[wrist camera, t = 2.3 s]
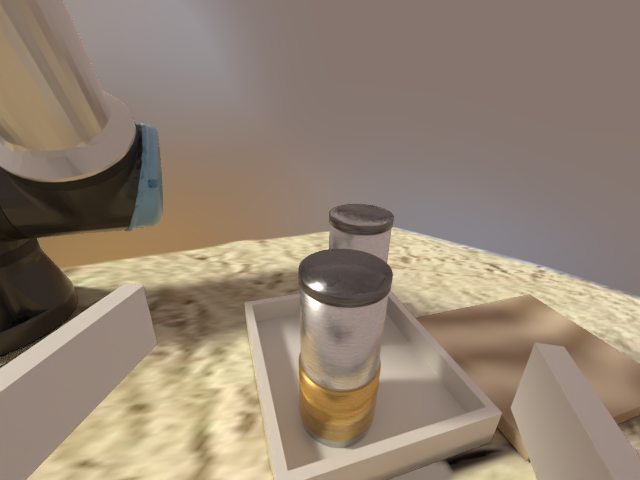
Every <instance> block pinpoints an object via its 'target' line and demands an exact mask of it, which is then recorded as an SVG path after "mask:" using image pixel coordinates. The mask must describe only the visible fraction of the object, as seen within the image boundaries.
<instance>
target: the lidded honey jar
mask: <svg viewBox="0 0 640 480" xmlns="http://www.w3.org/2000/svg"><path fill="white" fill-rule="evenodd" d="M392 276H393V274H392V270H391V268H390V266H389V265H388V264H387V263H386V262H385V261H383V260H382V259H380V258H379V257H377V256H375V255H372V254H370V253H367V252H363V251H359V250H353V249H329V250H323V251H319V252H316V253H313V254H311V255H309V256H308V257H306V258H305V259H304V260H303V261H302V262H301V263H300V265H299V285H300V347H301V352H300V355H299V411H300V415H301V420H302V423H303V426H304V428H305V430H306V432H307V433H308V434H309V435H310V436H311V437H312V438H313V439H314V440H315V441H317V442H318V443H320V444H322V445H324V446H327V447H331V448H346V447H350V446H352V445H355V444H357V443H358V442H360V441H361V440H362V439H363V438H364V437H365V436H366V435H367V433H368V431H369V429H370V426H371V424H372V422H373V419H374V414H375V407H376V399H377V392H378V385H379V377H380V370H381V361H380V355H381V347H382V340H383V332H384V325H385V317H386V310H387V302H388V295H389V292H390V290H391V284H392Z"/></svg>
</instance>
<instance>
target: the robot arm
mask: <svg viewBox="0 0 640 480" xmlns="http://www.w3.org/2000/svg"><path fill="white" fill-rule="evenodd" d="M162 216H163V187H162V172H161V158H160V147H159V139H158V132H157V130H156V128H155V127H153V126H152V125H146V124H144V123H138V124H137V125H136V124H135V121H134V118H133V116H132V114H131V112H130V111H129V109H128V108H127V107H126V106H125V105H124V104H123V103H122V102H121V101H120V100H118V99H117V98H116V97H114V96H113V95H111V94H109V93H107V92H104V91H103V89H102V87H101V85H100V83H99V80H98V78H97V76H96V73H95V71H94V69H93V67H92V64H91V62H90V60H89V58H88V55H87V53H86V51H85V48H84V46H83V44H82V41H81V39H80V37H79V35H78V32H77V30H76V28H75V25H74V23H73V21H72V19H71V16H70V14H69V12H68V9H67V7H66V5H65V2H64V1H63V0H0V355H3V354H6V353H8V352H11V351H13V350H16V349H18V348H20V347H23V346H25V345H27V344H29V343H31V342H33V341H35V340H37V339H38V338H40V337H42V336H44V335H45V334H47V333H49V332H50V331H52V330H53V329H54V328H56V327H57V326H59V325H60V324H61V323H62V322H63V321H65V320H66V319H67V318H68V317H69V316H70V314H71V313H72V312H73V311H74V309H75V307H76V305H77V301H78V299H77V295H76V292H75V289H74V287H73V284H72V282H71V281H70V279H69V278H68V277H67V276H66V275H65V274H64V273H63V272H62V271H61V270H60V269H59V268H58V267H57V265H56V264H55V263H54V262H53V261H52V260H51V259H50V258H49V257H48V256H47V255H46V254H45V253H44V252H43V251H42V249H41V248H40V246H39V243H38V241H37V238H41V237H51V236H63V235H74V234H85V233H96V232H107V231H122V230H125V231H131V230H133V229H137V228H144V227H150V226H154V225H156V224H158V223H159V222H160V220H161V219H162ZM156 345H157V340H156V336H155V332H154V328H153V323H152V319H151V315H150V311H149V307H148V303H147V299H146V295H145V291H144V286H143V285H136V284H129V283H125V284H123V285H122V286H120V287H119V288H117V289H116V290H114V291H113V292H111V293H110V294H109V295H107V296H106V297H104V298H103V299H101V300H100V301H98V302H97V303H95V304H94V305H92V306H91V307H89V308H88V309H87V310H85V311H84V312H82V313H81V314H79V315H78V316H76V317H75V318H73V319H72V320H70V321H69V322H68V323H66V324H65V325H63V326H62V327H60V328H59V329H57V330H56V331H54V332H53V333H51V334H50V335H49V336H47V337H46V338H44V339H43V340H41V341H40V342H38V343H37V344H35V345H34V346H32V347H31V348H30V349H28V350H27V351H25V352H24V353H22V354H21V355H19V356H18V357H16V358H15V359H13V360H11V361H9V362H7V363H5V364H3V365H1V366H0V480H26V479H27V478H28V477H29V476H30V475H31V474H32V473H33V472H34V471H35V470H36V469H37V468H38V467H39V466H40V465H41V464H42V463H43V462H44V461H45V460H46V459H47V457H48V456H49V455H50V454H51V453H52V452H53V451H54V450H55V449H56V448H57V447H58V446H59V445H60V444H61V443H62V442H63V441H64V440H65V439H66V438H67V437H68V436H69V435H70V434H71V433H72V432H73V431H74V430H75V429H76V428H77V426H78V425H79V424H80V423H81V422H82V421H83V420H84V419H85V418H86V417H87V416H88V415H89V414H90V413H91V412H92V411H93V410H94V409H95V408H96V407H97V406H98V405H99V404H100V403H101V402H102V401H103V400H104V399H105V398H106V397H107V396H108V394H109V393H110V392H111V391H112V390H113V389H114V388H115V387H116V386H117V385H118V384H119V383H120V382H121V381H122V380H123V379H124V378H125V377H126V376H127V375H128V374H129V373H130V372H131V371H132V370H133V369H134V368H135V367H136V366H137V365H138V363H139V362H140V361H141V360H142V359H143V358H144V357H145V356H146V355H147V354H148V353H149V352H150V351H151V350H152V349H153V348H154V347H155V346H156ZM511 411H512V413H513V416H514V419H515V421H516V424H517V427H518V429H519V432H520V435H521V437H522V440H523V443H524V445H525V448H526V451H527V453H528V456H529V459H530V462H531V464H532V467H533V470H534V472H535V475H536V478H537V480H640V457H639V456H638V454H637V453H636V451H635V450H634V448H633V447H632V445H631V444H630V442H629V441H628V440H627V438H626V437H625V435H624V434H623V432H622V431H621V429H620V428H619V426H618V425H617V423H616V422H615V420H614V419H613V418H612V416H611V415H610V413H609V412H608V410H607V409H606V407H605V406H604V404H603V403H602V401H601V400H600V398H599V397H598V396H597V394H596V393H595V391H594V390H593V388H592V387H591V385H590V384H589V382H588V381H587V379H586V378H585V376H584V375H583V374H582V372H581V371H580V369H579V368H578V366H577V365H576V363H575V362H574V360H573V359H572V357H571V356H570V354H569V353H568V352H567V350H566V349H565V347H563V346H556V345H549V344H542V343H536V342H535V344H534V346H533V349H532V352H531V354H530V357H529V360H528V363H527V365H526V368H525V371H524V373H523V376H522V379H521V381H520V384H519V387H518V389H517V392H516V395H515V398H514V400H513V403H512V406H511Z"/></svg>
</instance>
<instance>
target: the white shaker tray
mask: <svg viewBox="0 0 640 480" xmlns="http://www.w3.org/2000/svg"><path fill="white" fill-rule="evenodd" d="M244 304H245V315H246V326H247V332H248V338H249V343H250V349H251V355H252V361H253V367H254V372H255V378H256V384H257V390H258V396H259V402H260V407H261V413H262V419H263V425H264V431H265V437H266V442H267V448H268V454H269V460H270V466H271V472H272V477H273V480H389V479H391V478H394V477H397V476H400V475H402V474H405V473H408V472H411V471H413V470H416V469H419V468H421V467H424V466H427V465H430V464H432V463H435V462H438V461H441V460H443V459H446V458H449V457H452V456H454V455H457V454H460V453H463V452H465V451H468V450H471V449H473V448H476V447H479V446H482V445H484V444H487V443H490V442H491V441H492V438H493V436H494V433H495V430H496V428H497V425H498V423H499V420H500V417H501V415H502V412H501V411H500V410H499V409H498V408H497V407H496V406H495V405H494V403H493V402H492V401H491V400H490V399H489V398H488V397H487V396H486V395H485V394H484V393H483V391H482V390H481V389H480V388H479V387H478V386H477V385H476V384H475V383H474V382H473V380H472V379H471V378H470V377H469V376H468V375H467V374H466V373H465V372H464V371H463V370H462V368H461V367H460V366H459V365H458V364H457V363H456V362H455V361H454V360H453V359H452V358H451V356H450V355H449V354H448V353H447V352H446V351H445V350H444V349H443V348H442V347H441V346H440V344H439V343H438V342H437V341H436V340H435V339H434V338H433V337H432V336H431V335H430V334H429V332H428V331H427V330H426V329H425V328H424V327H423V326H422V325H421V324H420V323H419V321H418V320H417V319H416V318H415V317H414V316H413V315H412V314H411V313H410V312H409V311H408V309H407V308H406V307H405V306H404V305H403V304H402V303H401V302H400V301H399V300H398V299H397V297H396V296H395V295H394V294H393V293H392V292H391V291H390V292H389V295H388V302H387V310H386V317H385V325H384V332H383V340H382V347H381V355H380V361H381V370H380V377H379V385H378V392H377V399H376V407H375V414H374V419H373V422H372V424H371V426H370V429H369V431H368V433H367V435H366V436H365V437H364V438H363V439H362V440H361V441H360V442H358V443H357V444H355V445H352V446H350V447H346V448H331V447H327V446H324V445H322V444H320V443H318V442H317V441H315V440H314V439H313V438H312V437H311V436H310V435H309V434H308V433H307V432H306V430H305V428H304V426H303V423H302V420H301V415H300V411H299V355H300V352H301V347H300V293H298V294H291V295H285V296H279V297H273V298H267V299H261V300H255V301H248V302H244Z"/></svg>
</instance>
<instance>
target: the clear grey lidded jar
mask: <svg viewBox="0 0 640 480" xmlns="http://www.w3.org/2000/svg"><path fill="white" fill-rule="evenodd" d="M393 220H394V216H393V214H392V213H391V212H390V211H388V210H386V209H383V208H381V207H377V206H373V205H365V204H347V205H341V206H337V207H335V208H333V209H331V211H330V212H329V223H330V237H329V249H353V250H359V251H363V252H367V253H370V254H372V255H375V256H377V257H379V258H380V259H382V260H383V261H385V262H386V263H387V259H388V251H389V243H390V235H391V228H392V227H393Z"/></svg>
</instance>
